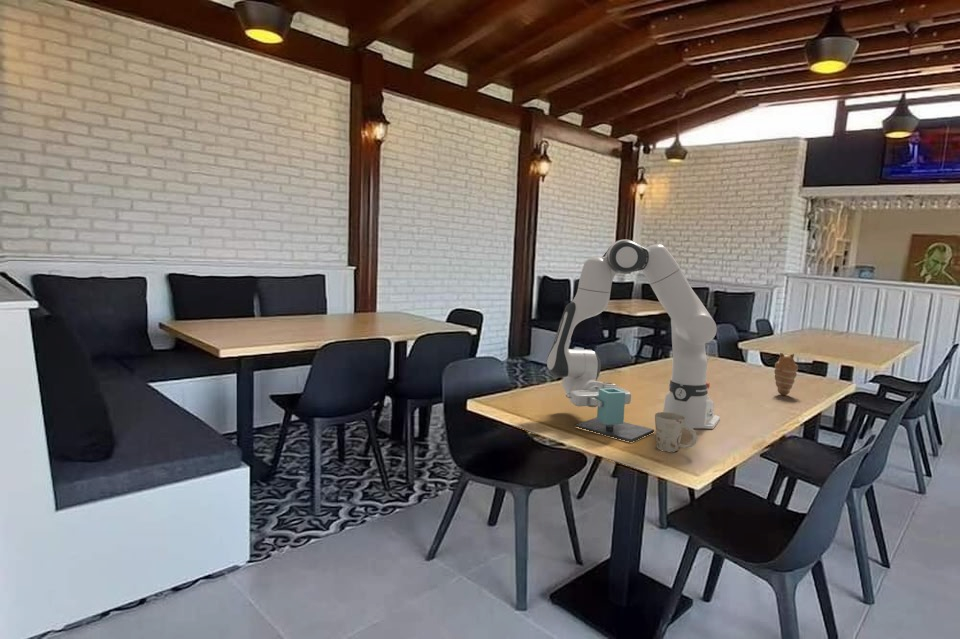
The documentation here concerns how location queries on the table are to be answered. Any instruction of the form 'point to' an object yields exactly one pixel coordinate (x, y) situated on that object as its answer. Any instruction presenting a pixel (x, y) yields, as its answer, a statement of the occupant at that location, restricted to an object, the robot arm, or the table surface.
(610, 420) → the sleeve
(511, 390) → the table surface
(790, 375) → the cat ice cream
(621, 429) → the plate
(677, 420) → the mug
